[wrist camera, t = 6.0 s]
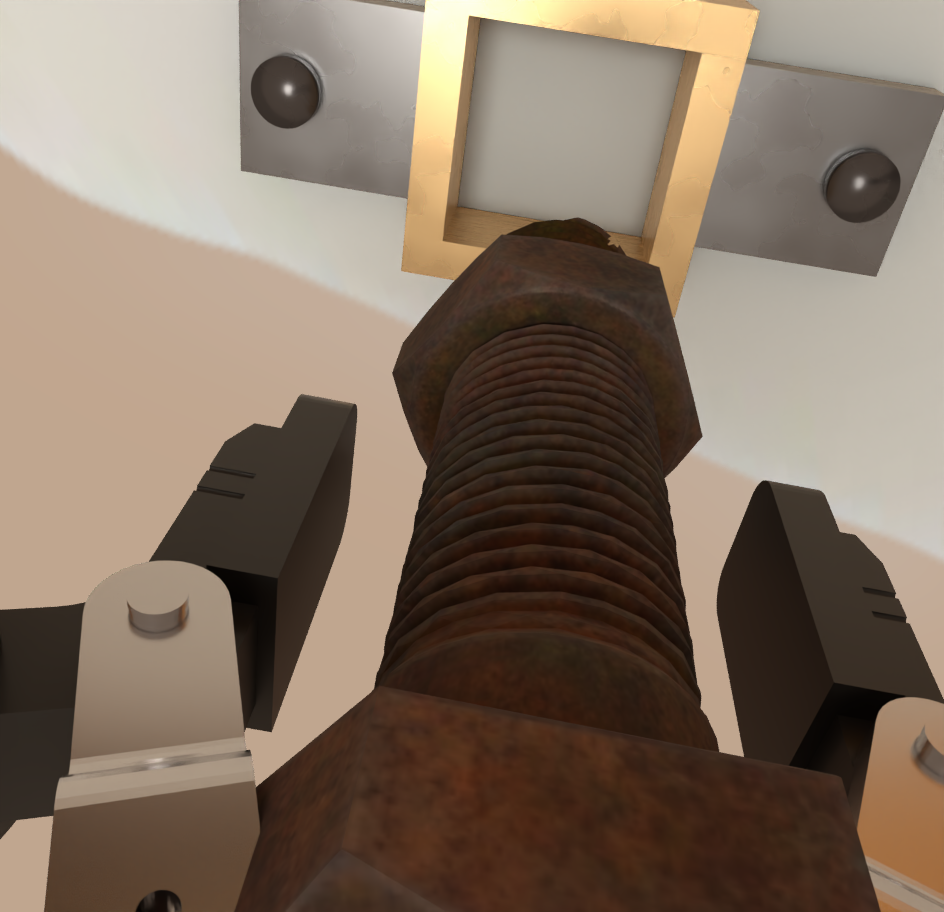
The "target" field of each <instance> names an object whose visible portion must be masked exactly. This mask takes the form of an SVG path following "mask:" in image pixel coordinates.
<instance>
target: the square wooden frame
mask: <svg viewBox="0 0 944 912" xmlns="http://www.w3.org/2000/svg"><path fill="white" fill-rule="evenodd" d="M759 12H760V11H759V10H758V9H757V8H755V7H754V6H753V5H751V4H750V3H749V2H747V1H746V0H426V5H425V16H424V27H423V38H422V49H421V60H420V71H419V82H418V93H417V104H416V115H415V126H414V137H413V148H412V158H411V169H410V180H409V191H408V202H407V213H406V224H405V235H404V246H403V257H402V268H401V271H404V272H410V273H416V274H422V275H428V276H434V277H440V278H445V279H451V280H456V279H457V278H458V277H459V276H460V275H461V273H462V272H463V271H464V270H465V269H466V268H467V267H468V266H469V265H470V264H471V263H472V262H473V261H474V260H475V259H476V258H477V257H478V256H479V255H480V254H481V253H482V252H483V251H484V250H485V249H486V248H487V247H489V246H490V245H491V244H492V243H493V242H494V241H495V240H496V239H497V238H498V237H499V236H500V235H501V234H503V235H506V234H508V233H510V232H512V231H515V230H517V229H519V228H522V227H524V226H526V225H529V224H531V223H533V222H540V221H541V220H535V219H529V218H523V217H517V216H511V215H505V214H499V213H493V212H487V211H481V210H475V209H469V208H463V207H457V206H458V198H459V190H460V182H461V174H462V166H463V157H464V149H465V141H466V133H467V125H468V117H469V109H470V100H471V92H472V84H473V76H474V68H475V60H476V52H477V44H478V35H479V27H480V19H481V17H483V18H489V19H495V20H501V21H508V22H514V23H520V24H526V25H532V26H539V27H545V28H551V29H557V30H563V31H570V32H576V33H582V34H588V35H594V36H601V37H607V38H613V39H619V40H626V41H632V42H638V43H644V44H650V45H657V46H663V47H669V48H675V49H681V50H686V54H685V58H684V62H683V66H682V70H681V74H680V78H679V83H678V87H677V91H676V95H675V99H674V103H673V107H672V111H671V116H670V120H669V124H668V128H667V132H666V136H665V140H664V144H663V149H662V153H661V157H660V161H659V165H658V169H657V173H656V177H655V181H654V186H653V190H652V194H651V198H650V202H649V206H648V210H647V214H646V219H645V223H644V227H643V231H642V235H641V237H637V236H631V235H625V234H619V233H613V232H607V231H605V232H607V233H608V234H609V235H610V236H611V237H610V238H608V239H609V240H610V242H609V243H608V245H612V244H614V245H615V246H616V247H617V248H618V246H619V245H620V247H621V248H622V250H623V251H624V252H625V254H626V256H628V257H631V258H634V259H637V260H640V261H643V262H646V263H649V264H652V265H654V266H657V267H660V271H661V275H662V278H663V282H664V286H665V289H666V293H667V296H668V300H669V304H670V308H671V312H672V316H673V317H675V314H676V310H677V307H678V303H679V300H680V296H681V292H682V289H683V285H684V282H685V278H686V274H687V271H688V267H689V264H690V260H691V256H692V253H693V249H694V246H695V242H696V239H697V235H698V231H699V228H700V224H701V221H702V217H703V213H704V210H705V206H706V203H707V199H708V195H709V192H710V188H711V185H712V181H713V177H714V174H715V170H716V167H717V163H718V159H719V156H720V152H721V149H722V145H723V142H724V138H725V134H726V131H727V127H728V124H729V120H730V116H731V113H732V109H733V106H734V102H735V98H736V95H737V91H738V88H739V84H740V80H741V77H742V73H743V70H744V66H745V63H746V59H747V55H748V52H749V48H750V45H751V41H752V37H753V34H754V30H755V27H756V23H757V19H758V16H759Z"/></svg>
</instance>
